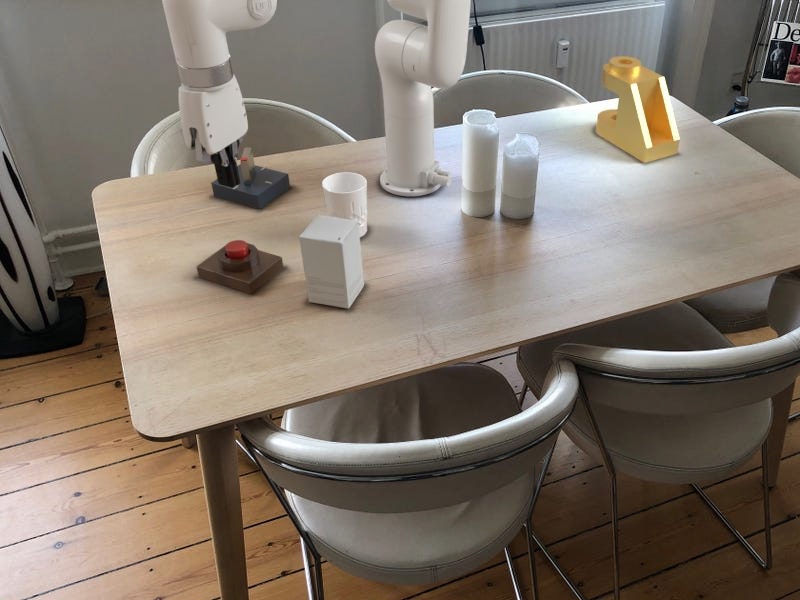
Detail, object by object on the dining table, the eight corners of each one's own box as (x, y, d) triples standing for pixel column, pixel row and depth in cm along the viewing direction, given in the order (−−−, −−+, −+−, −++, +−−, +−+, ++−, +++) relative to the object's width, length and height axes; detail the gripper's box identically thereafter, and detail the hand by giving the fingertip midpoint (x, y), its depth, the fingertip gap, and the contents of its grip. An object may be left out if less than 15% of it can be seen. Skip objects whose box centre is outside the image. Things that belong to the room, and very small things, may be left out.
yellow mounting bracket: (587, 128, 191) (595, 58, 181) (619, 120, 195) (628, 51, 184) (644, 163, 178) (656, 90, 168) (676, 153, 182) (690, 81, 171)
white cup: (349, 216, 158) (345, 167, 152) (379, 230, 154) (375, 181, 148) (318, 232, 153) (312, 183, 147) (348, 247, 150) (343, 197, 143)
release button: (253, 251, 141) (251, 243, 140) (240, 262, 139) (238, 253, 138) (236, 246, 142) (234, 238, 141) (222, 256, 140) (220, 248, 139)
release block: (283, 267, 144) (280, 247, 142) (251, 294, 138) (247, 274, 135) (232, 251, 148) (228, 232, 145) (198, 277, 141) (194, 257, 139)
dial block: (290, 187, 167) (288, 172, 165) (259, 209, 159) (256, 194, 157) (246, 175, 170) (243, 161, 168) (213, 196, 163) (210, 182, 161)
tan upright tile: (248, 170, 165) (244, 146, 162) (255, 170, 165) (251, 146, 162) (244, 185, 160) (239, 160, 157) (251, 185, 161) (247, 160, 157)
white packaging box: (365, 285, 140) (360, 219, 132) (348, 310, 135) (341, 243, 127) (325, 278, 142) (317, 212, 134) (306, 302, 136) (297, 236, 128)
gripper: (217, 50, 128) (239, 159, 140) (150, 85, 118) (180, 200, 130) (257, 58, 126) (276, 169, 138) (192, 95, 115) (218, 210, 127)
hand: (229, 183), depth 134 cm, fingers closed
